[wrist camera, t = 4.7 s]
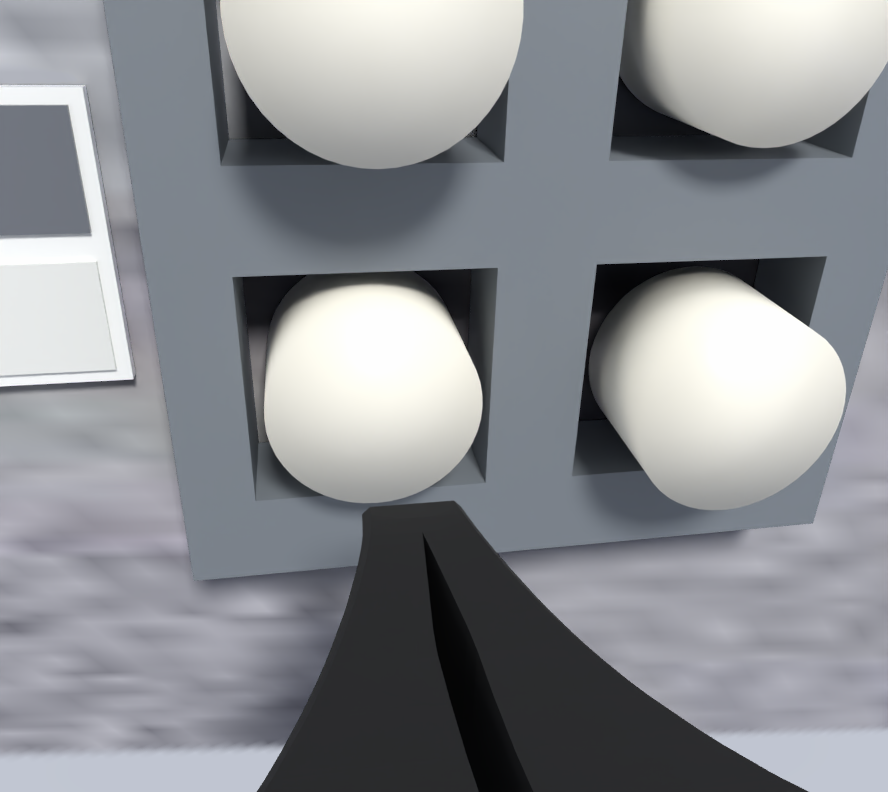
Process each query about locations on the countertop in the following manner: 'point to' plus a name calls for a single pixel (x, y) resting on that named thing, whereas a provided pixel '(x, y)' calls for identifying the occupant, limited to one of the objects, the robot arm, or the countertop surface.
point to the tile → (56, 245)
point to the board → (473, 276)
